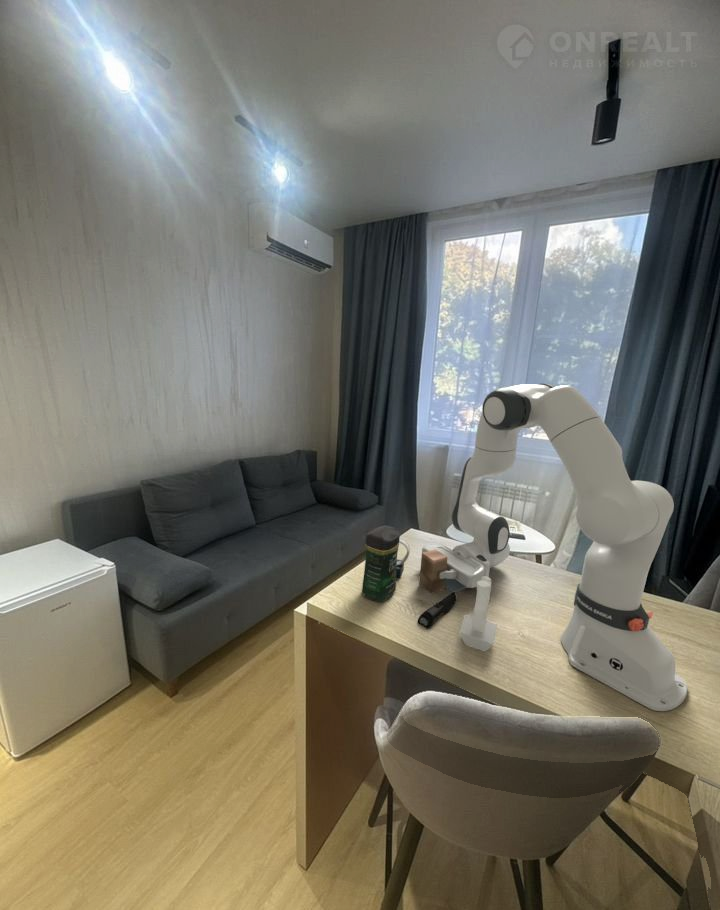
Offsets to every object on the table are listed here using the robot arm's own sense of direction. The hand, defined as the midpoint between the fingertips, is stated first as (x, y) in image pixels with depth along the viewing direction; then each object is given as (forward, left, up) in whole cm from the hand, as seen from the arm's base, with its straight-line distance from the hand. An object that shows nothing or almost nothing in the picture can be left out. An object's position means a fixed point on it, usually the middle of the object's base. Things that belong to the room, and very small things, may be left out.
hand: (430, 570), depth 105 cm
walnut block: (0, -1, -6) cm, 6 cm away
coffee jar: (+5, +14, -6) cm, 16 cm away
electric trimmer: (-10, +6, -6) cm, 13 cm away
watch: (+11, +4, -6) cm, 13 cm away
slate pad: (+1, -11, -6) cm, 13 cm away
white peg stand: (-22, +5, -6) cm, 23 cm away
